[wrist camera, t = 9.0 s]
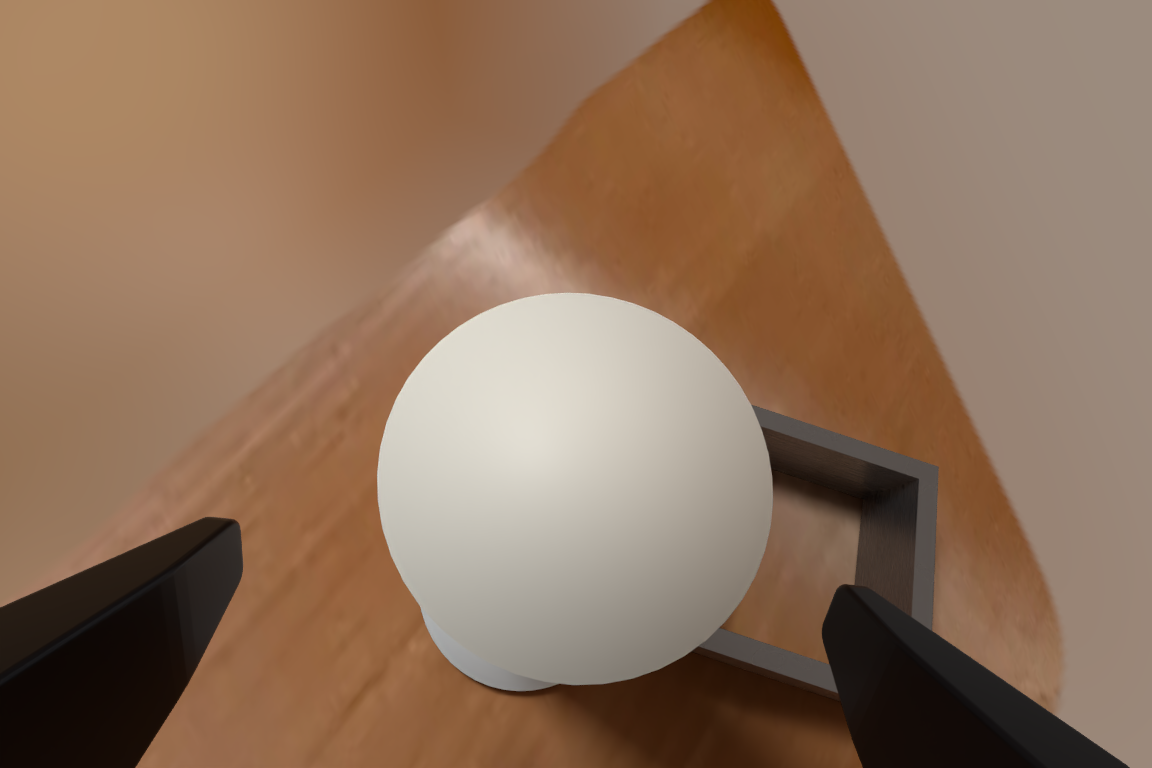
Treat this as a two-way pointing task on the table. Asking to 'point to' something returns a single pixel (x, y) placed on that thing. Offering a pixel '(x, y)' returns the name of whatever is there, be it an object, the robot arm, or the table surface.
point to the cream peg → (575, 488)
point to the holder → (886, 542)
